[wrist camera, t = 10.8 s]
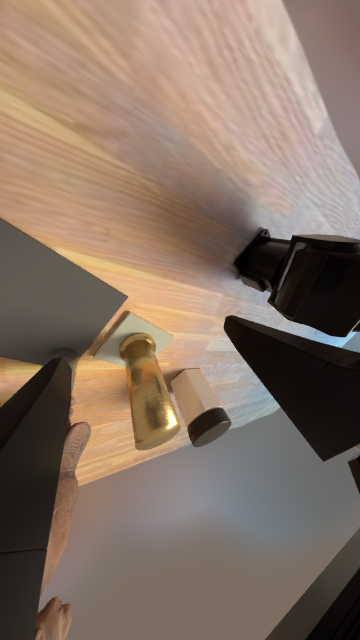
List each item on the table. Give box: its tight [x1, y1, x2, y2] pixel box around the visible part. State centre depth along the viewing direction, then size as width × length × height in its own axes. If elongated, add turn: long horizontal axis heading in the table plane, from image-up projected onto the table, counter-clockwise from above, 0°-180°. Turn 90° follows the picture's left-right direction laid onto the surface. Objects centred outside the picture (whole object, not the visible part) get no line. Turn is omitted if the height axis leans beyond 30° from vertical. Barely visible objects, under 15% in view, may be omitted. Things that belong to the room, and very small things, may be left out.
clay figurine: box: [33, 397, 91, 640], centre depth 16 cm, size 13×10×25 cm
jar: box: [170, 369, 231, 447], centre depth 32 cm, size 9×8×12 cm
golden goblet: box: [119, 333, 180, 450], centre depth 19 cm, size 6×6×13 cm
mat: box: [0, 218, 128, 365], centre depth 15 cm, size 14×18×1 cm
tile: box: [94, 312, 174, 366], centre depth 24 cm, size 9×9×1 cm
